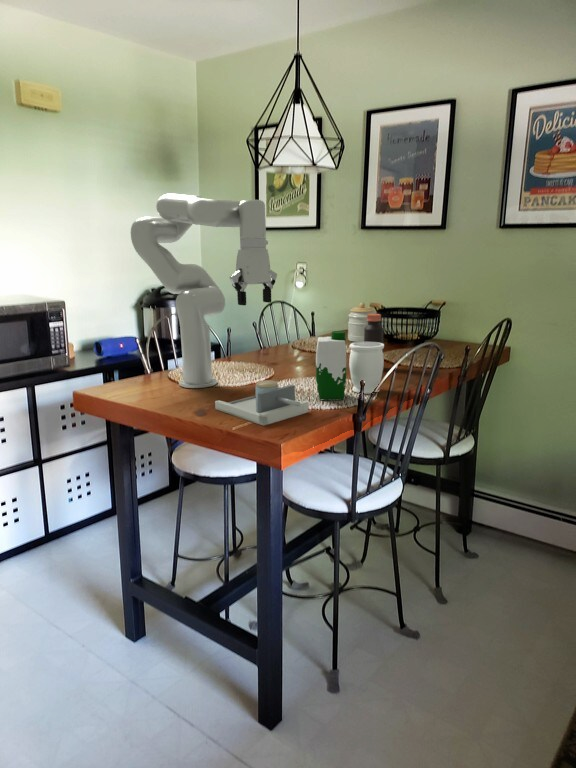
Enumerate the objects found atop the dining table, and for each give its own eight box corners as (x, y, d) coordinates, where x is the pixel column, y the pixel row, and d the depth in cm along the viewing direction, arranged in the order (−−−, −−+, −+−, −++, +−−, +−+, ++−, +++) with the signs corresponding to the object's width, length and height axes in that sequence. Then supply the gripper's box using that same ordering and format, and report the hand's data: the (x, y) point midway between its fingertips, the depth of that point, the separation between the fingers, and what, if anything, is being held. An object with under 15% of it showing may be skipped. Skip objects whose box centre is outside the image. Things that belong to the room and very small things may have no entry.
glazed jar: (251, 410, 158) (250, 382, 156) (268, 405, 162) (268, 378, 160) (266, 415, 154) (265, 387, 152) (283, 410, 158) (283, 382, 156)
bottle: (371, 365, 214) (372, 312, 209) (385, 368, 209) (387, 314, 204) (359, 368, 209) (360, 314, 204) (374, 371, 204) (376, 316, 199)
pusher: (258, 416, 151) (257, 393, 150) (292, 407, 159) (291, 384, 158) (281, 424, 145) (281, 399, 143) (315, 414, 153) (315, 390, 151)
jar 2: (379, 386, 184) (380, 340, 180) (385, 394, 174) (387, 346, 170) (346, 387, 184) (347, 341, 180) (351, 395, 174) (352, 347, 170)
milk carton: (346, 401, 168) (347, 334, 163) (316, 401, 168) (316, 334, 163) (344, 393, 177) (345, 329, 172) (315, 393, 177) (315, 329, 172)
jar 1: (352, 343, 260) (353, 304, 256) (344, 338, 273) (344, 301, 268) (379, 341, 263) (380, 303, 258) (369, 337, 275) (370, 300, 271)
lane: (215, 409, 162) (214, 399, 161) (259, 397, 173) (259, 388, 172) (263, 425, 147) (263, 414, 146) (308, 412, 158) (308, 401, 157)
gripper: (267, 244, 173) (268, 300, 177) (221, 245, 162) (224, 305, 166) (283, 244, 168) (284, 302, 172) (237, 245, 156) (239, 307, 161)
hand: (254, 303), depth 169 cm, fingers open, 9 cm apart
